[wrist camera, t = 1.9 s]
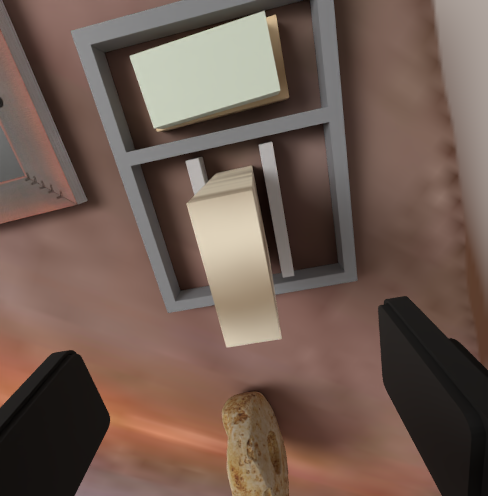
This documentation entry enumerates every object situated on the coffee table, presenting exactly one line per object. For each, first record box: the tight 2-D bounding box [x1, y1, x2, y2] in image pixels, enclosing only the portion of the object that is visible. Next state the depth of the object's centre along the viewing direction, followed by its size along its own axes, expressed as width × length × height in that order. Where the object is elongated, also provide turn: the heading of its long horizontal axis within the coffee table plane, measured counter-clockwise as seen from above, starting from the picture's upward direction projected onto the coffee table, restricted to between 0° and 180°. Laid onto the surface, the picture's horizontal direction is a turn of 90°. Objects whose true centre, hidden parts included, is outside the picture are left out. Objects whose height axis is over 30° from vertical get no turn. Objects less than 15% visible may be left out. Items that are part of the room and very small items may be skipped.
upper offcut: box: [130, 11, 280, 129], centre depth 20 cm, size 4×9×2 cm, turn 105°
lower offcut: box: [156, 15, 289, 132], centre depth 22 cm, size 5×10×2 cm, turn 103°
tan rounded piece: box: [222, 392, 289, 496], centre depth 29 cm, size 10×4×10 cm, turn 24°
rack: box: [71, 0, 357, 313], centre depth 23 cm, size 22×17×2 cm
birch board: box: [187, 166, 282, 347], centre depth 20 cm, size 8×3×12 cm, turn 12°
